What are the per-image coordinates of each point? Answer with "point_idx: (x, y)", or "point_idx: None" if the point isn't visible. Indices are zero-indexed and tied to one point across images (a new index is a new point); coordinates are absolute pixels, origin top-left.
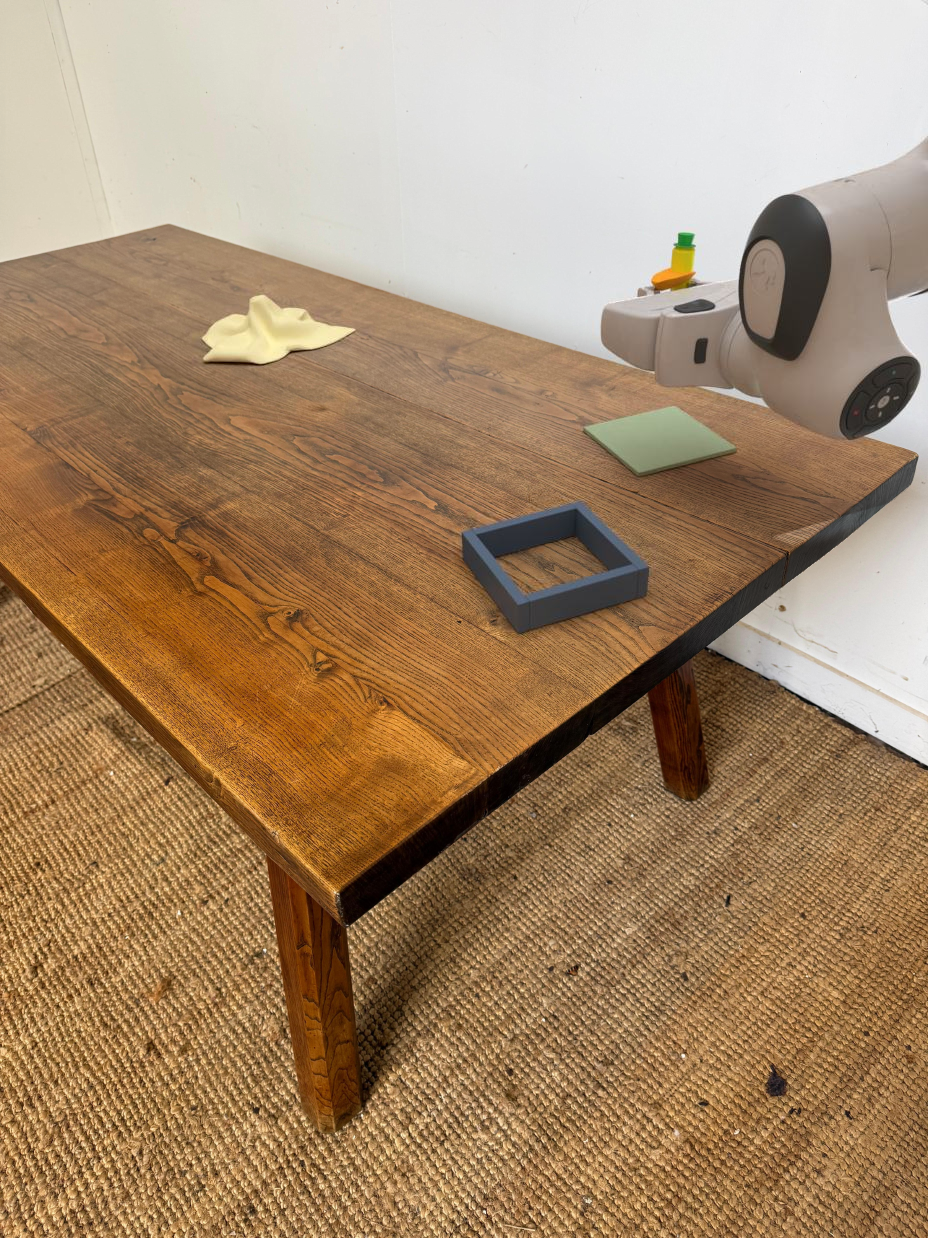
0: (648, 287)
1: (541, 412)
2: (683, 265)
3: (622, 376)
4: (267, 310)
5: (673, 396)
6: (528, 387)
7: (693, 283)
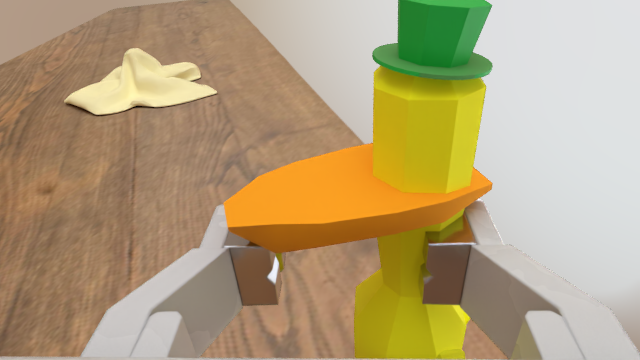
0: None
1: None
2: (402, 160)
3: None
4: (134, 63)
5: None
6: None
7: (454, 246)
